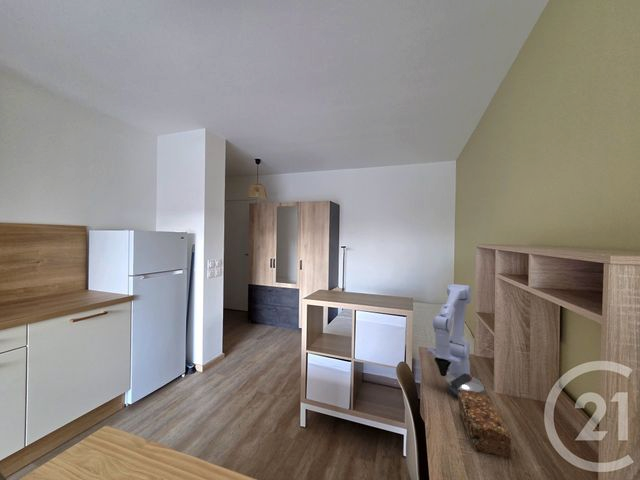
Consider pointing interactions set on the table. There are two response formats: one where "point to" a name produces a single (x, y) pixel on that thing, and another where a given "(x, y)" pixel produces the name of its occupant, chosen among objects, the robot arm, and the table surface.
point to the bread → (484, 424)
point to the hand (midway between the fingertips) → (443, 375)
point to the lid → (464, 382)
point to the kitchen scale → (454, 391)
